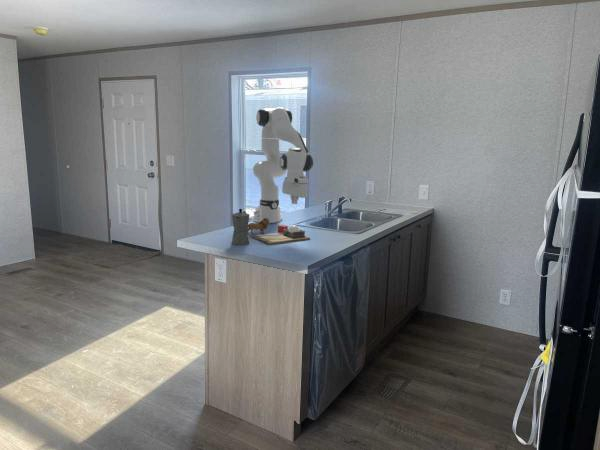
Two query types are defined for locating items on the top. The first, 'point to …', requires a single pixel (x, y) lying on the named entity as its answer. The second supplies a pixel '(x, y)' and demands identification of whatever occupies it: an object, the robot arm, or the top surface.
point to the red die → (282, 228)
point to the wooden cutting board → (281, 237)
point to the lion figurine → (258, 226)
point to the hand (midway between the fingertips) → (294, 203)
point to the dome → (293, 228)
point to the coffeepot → (240, 228)
